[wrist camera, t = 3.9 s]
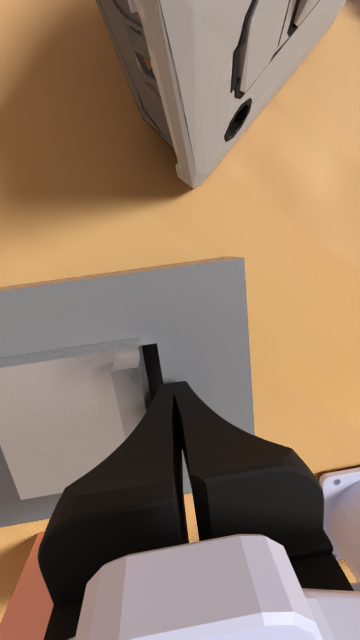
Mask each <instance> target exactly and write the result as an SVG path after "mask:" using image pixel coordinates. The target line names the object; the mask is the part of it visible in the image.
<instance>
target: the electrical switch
mask: <svg viewBox="0 0 360 640" xmlns="http://www.w3.org/2000/svg"><path fill="white" fill-rule="evenodd" d="M96 2H97V5H98V7H99V10H100V12H101V15H102V17H103V20H104V22H105V25H106V27H107V30H108V32H109V35H110V37H111V40H112V42H113V45H114V48H115V50H116V53H117V55H118V58H119V60H120V63H121V65H122V68H123V70H124V73H125V75H126V78H127V80H128V83H129V86H130V88H131V91H132V93H133V96H134V98H135V101H136V103H137V106H138V108H139V111H140V113H141V116H142V118H143V119H144V120H145V121H146V122H147V123H148V124H150V125H151V126H152V127H153V128H154V129H155V130H157V131H158V132H159V133H160V136H161V137H162V138H163V139H164V140H165V141H166V142H167V143H168V144H169V145H170V146H171V147H172V148H174V149H175V153H176V157H177V161H178V163H177V164H176V165H175V167H176V171H177V176H178V178H179V179H181V180H182V181H183V182H185V183H186V184H187V185H189V186H190V187H191V188H196V187H198V186H200V185H201V184H202V183H203V182H204V181H205V180H206V178H207V177H208V176H209V175H210V174H211V172H212V171H213V170H214V169H215V167H216V166H217V165H218V164H219V163H220V161H221V160H222V159H223V158H224V156H225V155H226V154H227V153H228V152H229V150H230V149H231V148H232V147H233V146H234V144H235V143H236V142H237V141H238V139H239V138H240V137H241V136H242V135H243V133H244V132H245V131H246V130H247V128H248V127H249V126H250V125H251V124H252V122H253V121H254V120H255V119H256V117H257V116H258V115H259V114H260V113H261V111H262V110H263V109H264V108H265V106H266V105H267V104H268V103H269V102H270V100H271V99H272V98H273V97H274V95H275V94H276V93H277V92H278V91H279V89H280V88H281V87H282V86H283V85H284V83H285V82H286V81H287V80H288V78H289V77H290V76H291V75H292V74H293V72H294V71H295V70H296V69H297V67H298V66H299V65H300V64H301V63H302V61H303V60H304V59H305V58H306V56H307V55H308V54H309V53H310V52H311V50H312V49H313V48H314V47H315V45H316V44H317V43H318V42H319V41H320V39H321V38H322V37H323V36H324V34H325V33H326V32H327V31H328V29H329V28H330V27H331V25H332V24H333V23H334V21H335V19H336V17H337V16H338V14H339V12H340V10H341V9H342V7H343V5H344V4H345V2H346V0H96ZM142 56H144V57H145V58H147V59H148V60H150V64H151V67H152V68H151V69H150V71H149V72H148V69H147V67H146V65H145V62H144V60H143V58H142ZM148 84H150V85H153V86H154V88H155V89H156V91H157V92H158V94H159V95H160V96H158V95H157V94H156V93H155V92H154V91H153V90H152V89H151V88H150V87H149V86H148Z"/></svg>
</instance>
